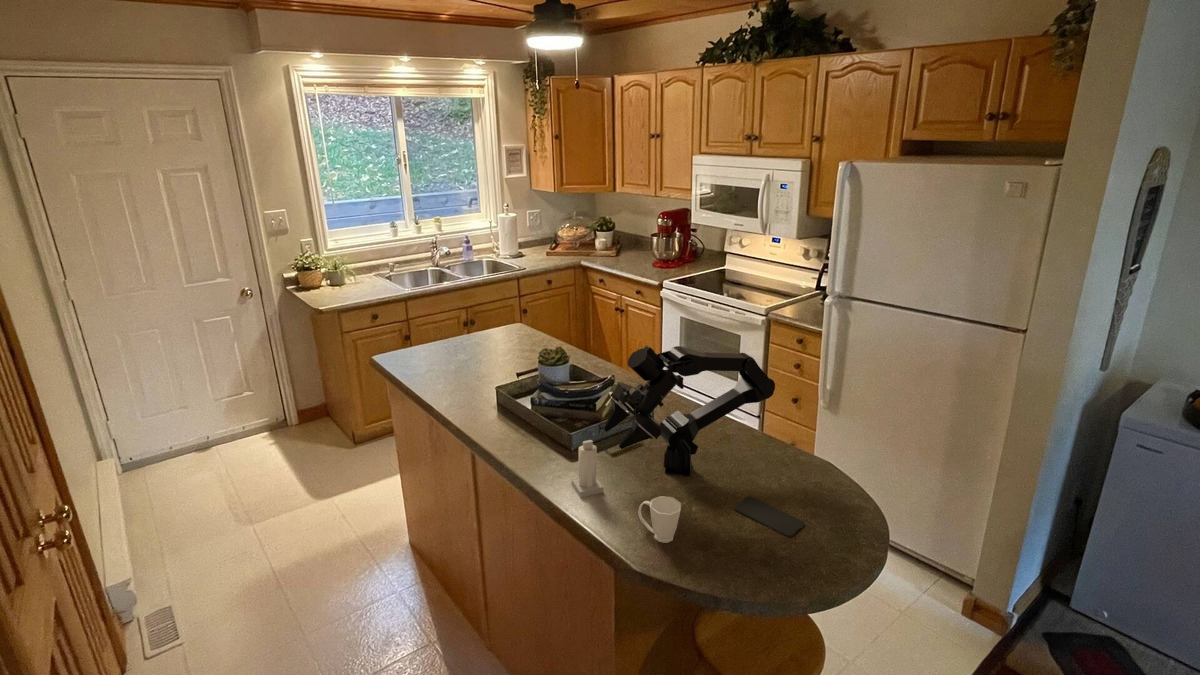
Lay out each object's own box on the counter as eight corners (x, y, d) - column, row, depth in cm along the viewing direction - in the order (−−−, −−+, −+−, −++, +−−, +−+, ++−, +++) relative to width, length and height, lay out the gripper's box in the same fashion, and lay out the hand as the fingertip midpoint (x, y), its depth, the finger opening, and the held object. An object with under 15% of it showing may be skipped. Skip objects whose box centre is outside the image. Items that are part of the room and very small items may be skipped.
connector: (594, 479, 158) (594, 433, 154) (603, 492, 153) (604, 445, 149) (571, 484, 156) (571, 437, 152) (580, 497, 151) (580, 449, 146)
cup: (670, 551, 133) (672, 518, 130) (630, 534, 138) (631, 502, 135) (685, 534, 138) (687, 502, 135) (646, 518, 143) (647, 487, 141)
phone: (790, 537, 137) (731, 507, 147) (789, 540, 137) (731, 510, 147) (806, 522, 142) (749, 494, 152) (806, 525, 142) (748, 497, 152)
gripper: (618, 358, 157) (576, 405, 157) (652, 387, 141) (606, 439, 140) (645, 383, 163) (605, 428, 162) (681, 413, 146) (636, 464, 146)
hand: (612, 439), depth 153 cm, fingers open, 9 cm apart
